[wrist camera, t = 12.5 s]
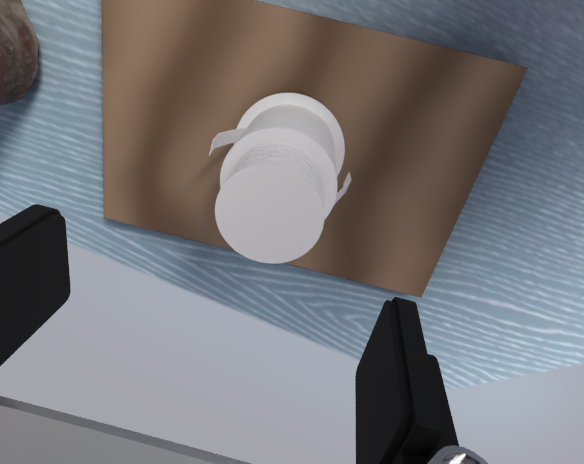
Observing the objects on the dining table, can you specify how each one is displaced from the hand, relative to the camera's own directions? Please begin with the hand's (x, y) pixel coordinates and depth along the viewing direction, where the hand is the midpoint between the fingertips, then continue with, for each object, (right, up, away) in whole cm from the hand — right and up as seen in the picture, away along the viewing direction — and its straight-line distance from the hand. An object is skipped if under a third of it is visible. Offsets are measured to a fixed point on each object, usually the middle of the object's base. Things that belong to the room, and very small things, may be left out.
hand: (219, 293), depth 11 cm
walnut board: (+2, +7, +15) cm, 17 cm away
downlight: (+2, +7, +14) cm, 16 cm away
